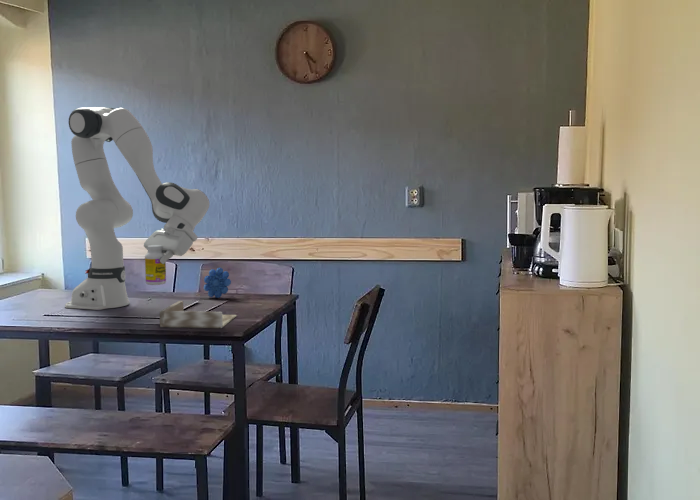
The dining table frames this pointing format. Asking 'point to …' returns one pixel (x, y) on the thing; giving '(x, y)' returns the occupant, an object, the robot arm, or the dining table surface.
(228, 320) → the tray
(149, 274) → the supplement bottle
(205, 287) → the blue flower shape
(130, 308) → the dining table surface
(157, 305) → the dining table surface
